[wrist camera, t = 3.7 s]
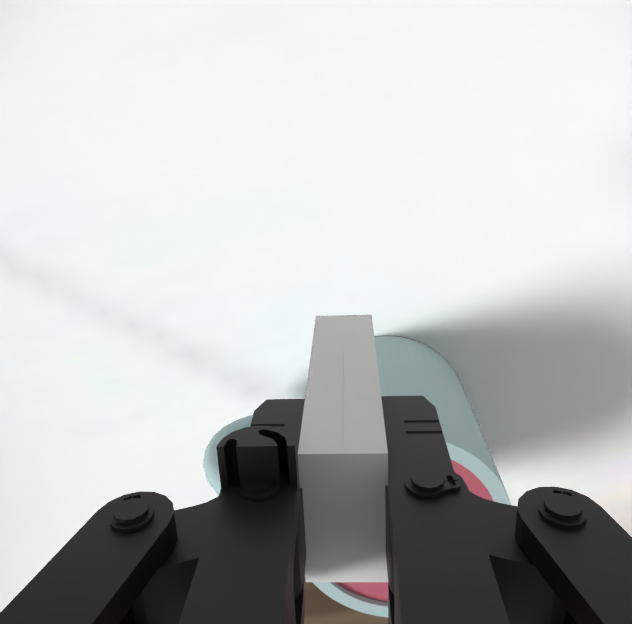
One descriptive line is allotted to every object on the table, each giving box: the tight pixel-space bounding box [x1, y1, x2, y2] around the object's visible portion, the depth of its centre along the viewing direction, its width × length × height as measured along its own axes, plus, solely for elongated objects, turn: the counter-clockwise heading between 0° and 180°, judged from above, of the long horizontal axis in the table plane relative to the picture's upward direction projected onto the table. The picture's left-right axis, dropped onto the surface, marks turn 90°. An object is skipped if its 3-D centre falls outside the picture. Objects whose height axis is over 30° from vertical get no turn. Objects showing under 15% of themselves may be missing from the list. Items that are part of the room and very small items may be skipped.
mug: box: [203, 336, 511, 617], centre depth 29 cm, size 14×9×10 cm
